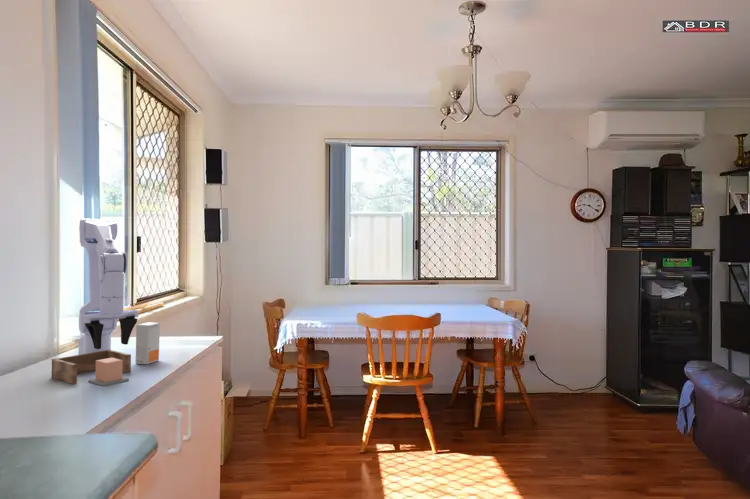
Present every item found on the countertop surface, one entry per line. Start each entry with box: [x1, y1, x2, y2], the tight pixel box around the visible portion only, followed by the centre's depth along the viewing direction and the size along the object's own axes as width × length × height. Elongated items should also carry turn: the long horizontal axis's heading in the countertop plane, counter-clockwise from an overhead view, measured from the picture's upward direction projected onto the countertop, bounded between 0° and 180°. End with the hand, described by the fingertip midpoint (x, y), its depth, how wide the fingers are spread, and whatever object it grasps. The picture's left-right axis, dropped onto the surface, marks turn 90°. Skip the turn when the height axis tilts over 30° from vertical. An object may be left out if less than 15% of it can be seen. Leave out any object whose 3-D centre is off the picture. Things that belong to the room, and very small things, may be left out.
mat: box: [88, 376, 130, 387], centre depth 138 cm, size 7×7×1 cm
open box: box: [51, 349, 132, 385], centre depth 144 cm, size 11×16×5 cm
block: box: [94, 358, 123, 382], centre depth 138 cm, size 5×4×5 cm
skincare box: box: [135, 321, 161, 365], centre depth 160 cm, size 6×4×12 cm
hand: (111, 346), depth 141 cm, fingers open, 7 cm apart
